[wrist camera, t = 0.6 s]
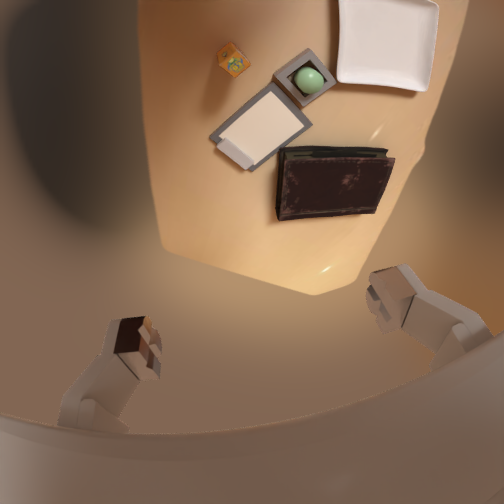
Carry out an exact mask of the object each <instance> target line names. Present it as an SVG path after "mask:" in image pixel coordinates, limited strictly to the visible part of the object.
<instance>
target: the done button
mask: <svg viewBox="0 0 504 504" xmlns="http://www.w3.org/2000/svg"><path fill="white" fill-rule="evenodd" d="M294 81H295V83H296V84H297V86H298V87H299V88H300V89H301V90H302V91H303V92H305V93H308V94H314V93H317V92H318V91H320V90H321V89H322V87H323V84H324V80H323V77H322V76H321V74H320V73H318V72H317V71H316V70H314V69H313V68H311V67H302V68H300V69H298V70H297V71H296V73H295V75H294Z"/></svg>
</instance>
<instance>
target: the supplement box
mask: <svg viewBox="0 0 504 504" xmlns="http://www.w3.org/2000/svg"><path fill="white" fill-rule="evenodd" d="M217 57H218V62H219V66H220V67H221V68H223V69H224V70H225V71H227V72H228V73H229V74H231V75H232V76H233V77H234V78H235V77H237V76H238V75H239V74H240V73H242V72H243V71H244V70H245V69H247V68H248V67H249V66H250V65H251V64H250V62H249V61H248V59H247V58H246V56H245V55H244V54H243V53H242V52H241V51H240V50H239V49H238V48H237V47H236V46H235V45H234V44H233V43H232V42H229V43H228V44H227V45H226V46H224V47H223V48H222V49H221V50H220V51H219V52H218V53H217Z"/></svg>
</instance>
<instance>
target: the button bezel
mask: <svg viewBox="0 0 504 504" xmlns="http://www.w3.org/2000/svg"><path fill="white" fill-rule="evenodd" d="M309 60H310V62H311V63H312V64H313V65H314V66H315V68H316V69H317V70H318V71H319V72H320V74H321V75H322V76H323V77H324V79H323V80H324V84H323V87H322V89H321V90H320V91H318V92H317V93H314V94H308V93H303V94H301V93H300V92H299V91H298V89H297V88H296V87H295V86H294V85H293V84H292V83H291V82H290V81H289V80H288V79H287V78H286V77H287V76H288V75H290V74H291V73H292V72H294V71H295V70H296V69H298V68H299V67H300V66H302V65H303V64H304V63H306V62H307V61H309ZM274 76H275V77H276V78H277V79H278V80H279V81H280V82H281V83H282V84H283V85H284V86H285V87H286V88H287V89H288V90H289V91H290V92H291V93H292V95H293V96H294V97H295V98H296V99H297V100H298V101H299V102H300V103H301V104H302V106H303V107H304V106H305V105H307V104H308V103H309V102H311V101H312V100H314V99H315V98H316V97H318V96H319V95H320V94H322V93H323V92H325V91H326V90H327V89H329V88H330V87H332V86H333V85H335V84H336V83H337V81H336V80H335V79H334V77H333V76H332V75H331V73H330V72H329V71H328V70H327V68H326V67H325V66H324V65H323V63H322V62H321V61H320V60H319V59H318V57H317V56H316V55H315V54H314V53H313V51H312V50H310V49H309V48H307V49H306V50H304V51H303V52H302V53H300V54H299V55H297V56H296V57H295V58H293V59H292V60H291V61H289V62H288V63H287V64H285V65H284V66H283V67H281V68H280V69H279V70H278V71H276V72H275V73H274Z"/></svg>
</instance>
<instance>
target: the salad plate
mask: <svg viewBox="0 0 504 504" xmlns="http://www.w3.org/2000/svg"><path fill="white" fill-rule="evenodd" d="M338 2H339V48H338V59H337V70H336V77H337V80H338V81H339V82H341V83H348V84H367V85H379V86H389V87H396V88H402V89H408V90H413V91H418V92H425V91H427V89H428V86H429V81H430V76H431V70H432V64H433V57H434V51H435V43H436V36H437V27H438V17H439V6H438V5H437V4H436V3H435V2H432V1H430V0H338Z"/></svg>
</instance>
